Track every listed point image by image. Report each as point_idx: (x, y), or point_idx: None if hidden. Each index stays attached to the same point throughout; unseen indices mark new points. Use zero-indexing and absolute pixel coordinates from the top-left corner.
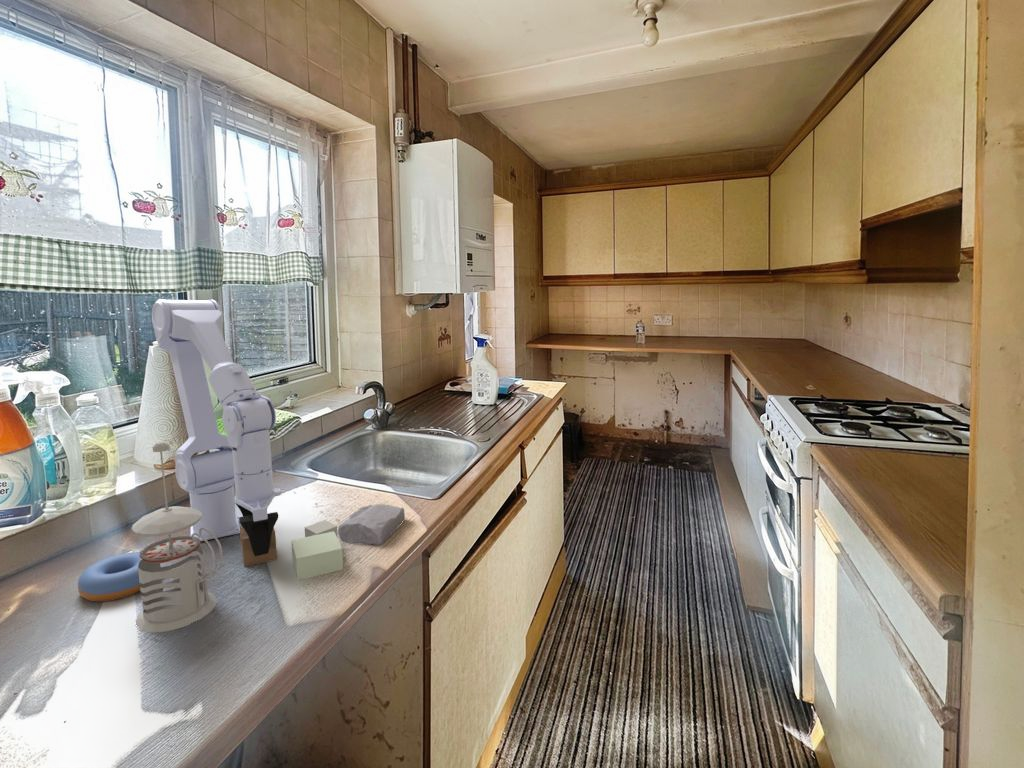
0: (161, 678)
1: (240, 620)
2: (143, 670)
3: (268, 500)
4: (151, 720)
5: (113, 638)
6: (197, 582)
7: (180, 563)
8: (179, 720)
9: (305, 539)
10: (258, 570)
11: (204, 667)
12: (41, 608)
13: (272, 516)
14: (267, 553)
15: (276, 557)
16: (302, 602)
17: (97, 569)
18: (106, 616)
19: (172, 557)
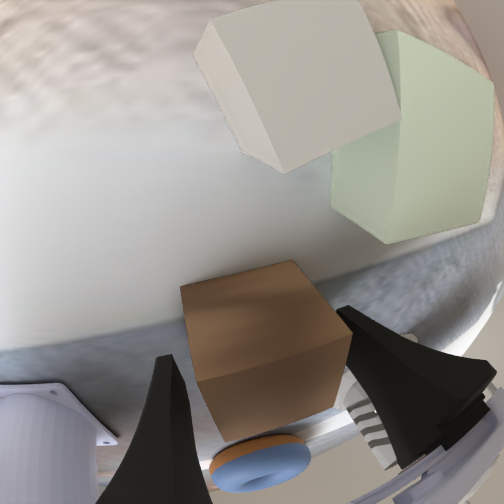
0: (463, 327)
1: (454, 285)
2: (445, 346)
3: (491, 463)
4: (486, 311)
5: None
6: None
7: (371, 436)
8: (497, 293)
9: (412, 181)
10: (333, 299)
11: (478, 297)
12: None
13: (483, 388)
14: (349, 306)
15: (294, 265)
16: None
17: (267, 485)
18: (330, 428)
19: None
